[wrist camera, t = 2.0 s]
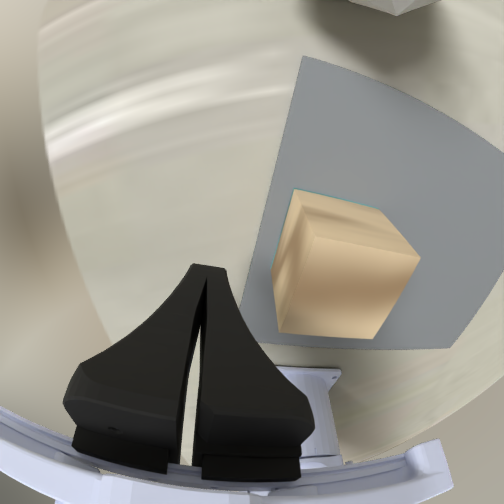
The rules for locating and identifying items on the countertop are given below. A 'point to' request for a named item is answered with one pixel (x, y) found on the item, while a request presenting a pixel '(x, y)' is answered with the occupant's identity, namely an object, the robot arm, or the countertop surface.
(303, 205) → the oak block
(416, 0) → the die
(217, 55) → the countertop surface
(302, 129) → the rubber mat
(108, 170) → the countertop surface
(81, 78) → the countertop surface
